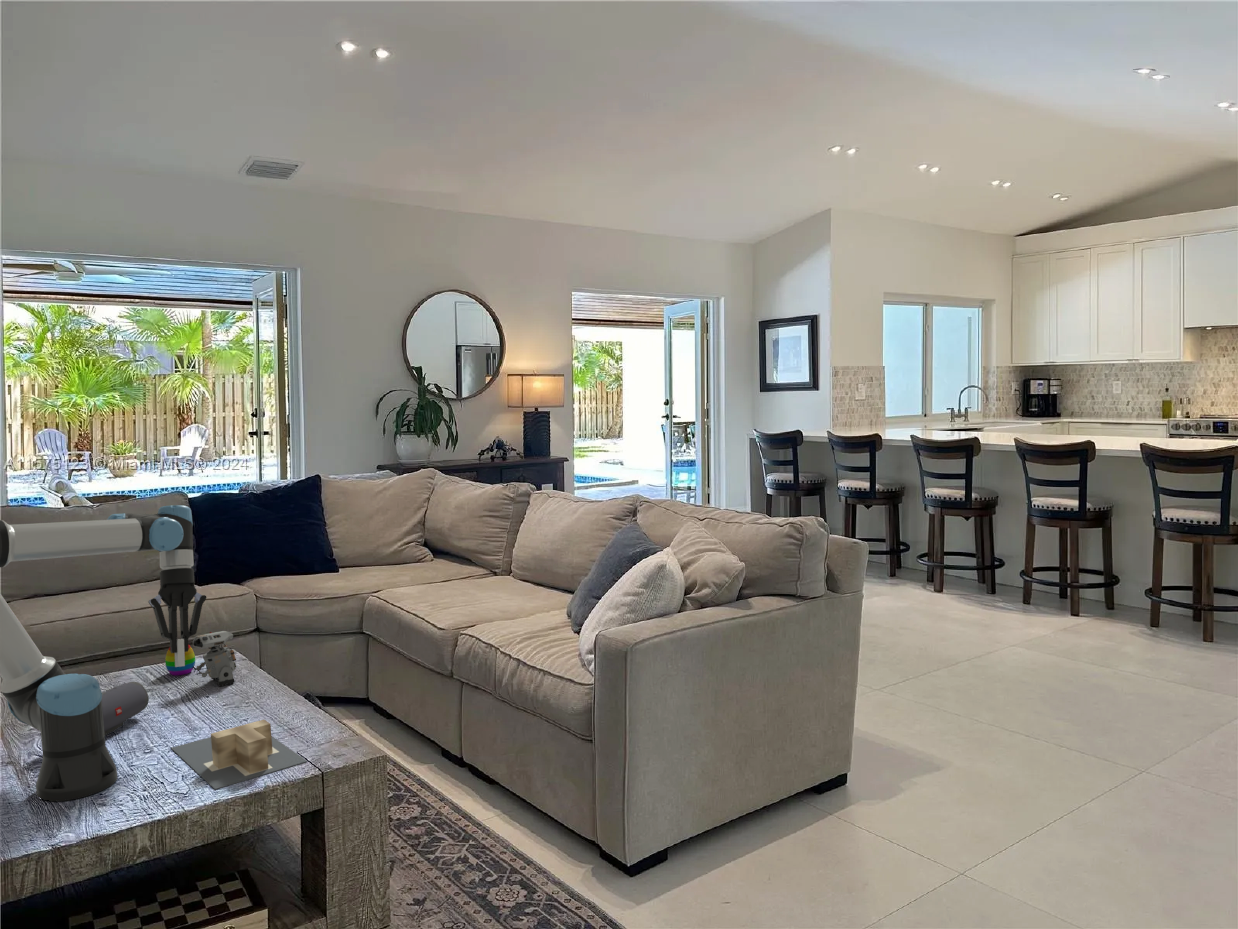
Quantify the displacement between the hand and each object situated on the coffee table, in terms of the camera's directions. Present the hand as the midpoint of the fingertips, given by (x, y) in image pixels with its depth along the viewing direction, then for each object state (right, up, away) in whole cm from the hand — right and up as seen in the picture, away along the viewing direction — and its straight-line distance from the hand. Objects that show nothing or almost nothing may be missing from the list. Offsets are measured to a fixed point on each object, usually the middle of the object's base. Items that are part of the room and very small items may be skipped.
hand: (179, 666), depth 223 cm
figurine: (-11, -15, +45) cm, 49 cm away
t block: (+23, -19, -15) cm, 33 cm away
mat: (+17, -19, -9) cm, 27 cm away
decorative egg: (-27, -15, +57) cm, 65 cm away
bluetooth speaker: (-23, -19, +9) cm, 31 cm away
